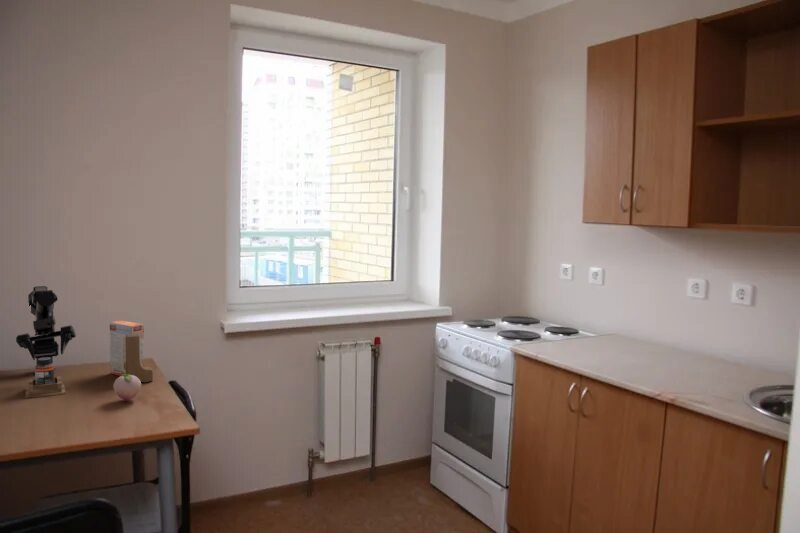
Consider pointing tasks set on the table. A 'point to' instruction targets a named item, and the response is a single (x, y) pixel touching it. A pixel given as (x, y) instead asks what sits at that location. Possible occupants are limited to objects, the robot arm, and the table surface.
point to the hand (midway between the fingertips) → (48, 356)
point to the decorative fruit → (127, 386)
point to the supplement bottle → (44, 371)
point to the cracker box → (123, 344)
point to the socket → (44, 388)
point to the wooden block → (136, 360)
